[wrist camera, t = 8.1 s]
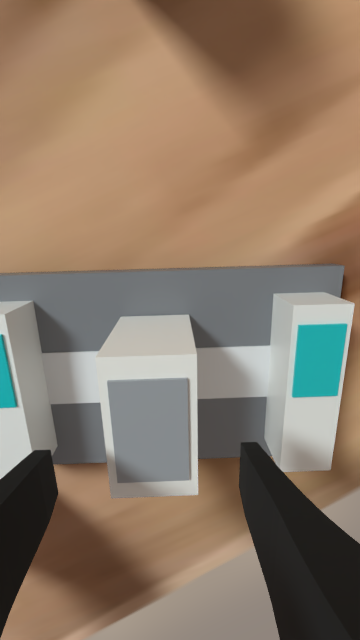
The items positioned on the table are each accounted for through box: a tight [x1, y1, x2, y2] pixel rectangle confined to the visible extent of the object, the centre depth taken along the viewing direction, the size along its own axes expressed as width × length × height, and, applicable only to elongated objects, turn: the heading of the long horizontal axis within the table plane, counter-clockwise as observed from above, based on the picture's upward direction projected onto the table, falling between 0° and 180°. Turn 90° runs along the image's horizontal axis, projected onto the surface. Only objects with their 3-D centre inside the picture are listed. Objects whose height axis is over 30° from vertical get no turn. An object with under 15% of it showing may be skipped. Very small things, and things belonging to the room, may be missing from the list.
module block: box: [95, 315, 198, 498], centre depth 15 cm, size 4×7×6 cm, turn 1°
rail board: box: [0, 264, 354, 479], centre depth 18 cm, size 22×13×4 cm, turn 91°
